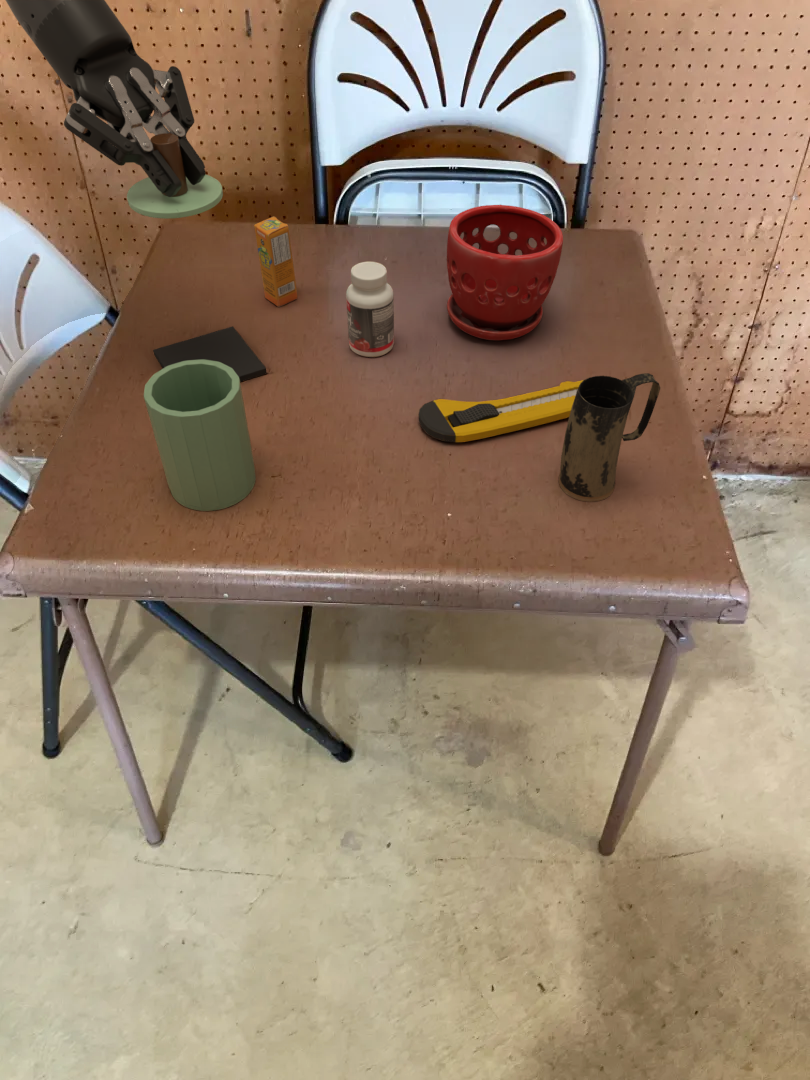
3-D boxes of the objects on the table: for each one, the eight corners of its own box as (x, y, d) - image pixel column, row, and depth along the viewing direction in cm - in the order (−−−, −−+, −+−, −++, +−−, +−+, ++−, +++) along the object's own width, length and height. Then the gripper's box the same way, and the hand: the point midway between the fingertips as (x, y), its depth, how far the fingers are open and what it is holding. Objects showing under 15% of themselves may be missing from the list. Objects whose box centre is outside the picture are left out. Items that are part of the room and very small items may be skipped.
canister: (187, 522, 80) (162, 427, 71) (158, 471, 85) (131, 376, 76) (269, 492, 82) (254, 397, 74) (236, 444, 87) (218, 349, 79)
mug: (568, 506, 81) (588, 406, 72) (548, 468, 85) (565, 369, 76) (644, 493, 82) (673, 393, 74) (621, 456, 86) (646, 358, 77)
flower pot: (480, 362, 98) (488, 267, 89) (424, 308, 105) (426, 216, 97) (572, 333, 102) (587, 239, 93) (512, 283, 110) (521, 192, 101)
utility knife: (411, 415, 91) (412, 400, 89) (595, 371, 96) (598, 357, 95) (435, 454, 86) (436, 439, 85) (626, 406, 92) (630, 391, 90)
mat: (183, 400, 92) (182, 394, 92) (154, 355, 98) (152, 349, 98) (267, 373, 96) (266, 367, 95) (233, 331, 102) (232, 325, 101)
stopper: (146, 233, 79) (131, 166, 74) (117, 195, 84) (101, 131, 80) (238, 211, 82) (228, 145, 78) (204, 175, 88) (193, 113, 83)
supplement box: (261, 298, 107) (251, 222, 100) (284, 289, 109) (275, 214, 101) (277, 309, 105) (267, 233, 98) (299, 299, 107) (291, 223, 100)
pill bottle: (339, 344, 100) (334, 269, 93) (373, 327, 102) (371, 252, 95) (369, 364, 97) (366, 287, 90) (403, 346, 100) (403, 270, 93)
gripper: (11, 8, 70) (147, 191, 74) (138, -28, 78) (254, 139, 82) (-6, 66, 76) (120, 232, 80) (113, 27, 84) (222, 180, 88)
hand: (187, 184), depth 81 cm, fingers closed on stopper, 2 cm apart
